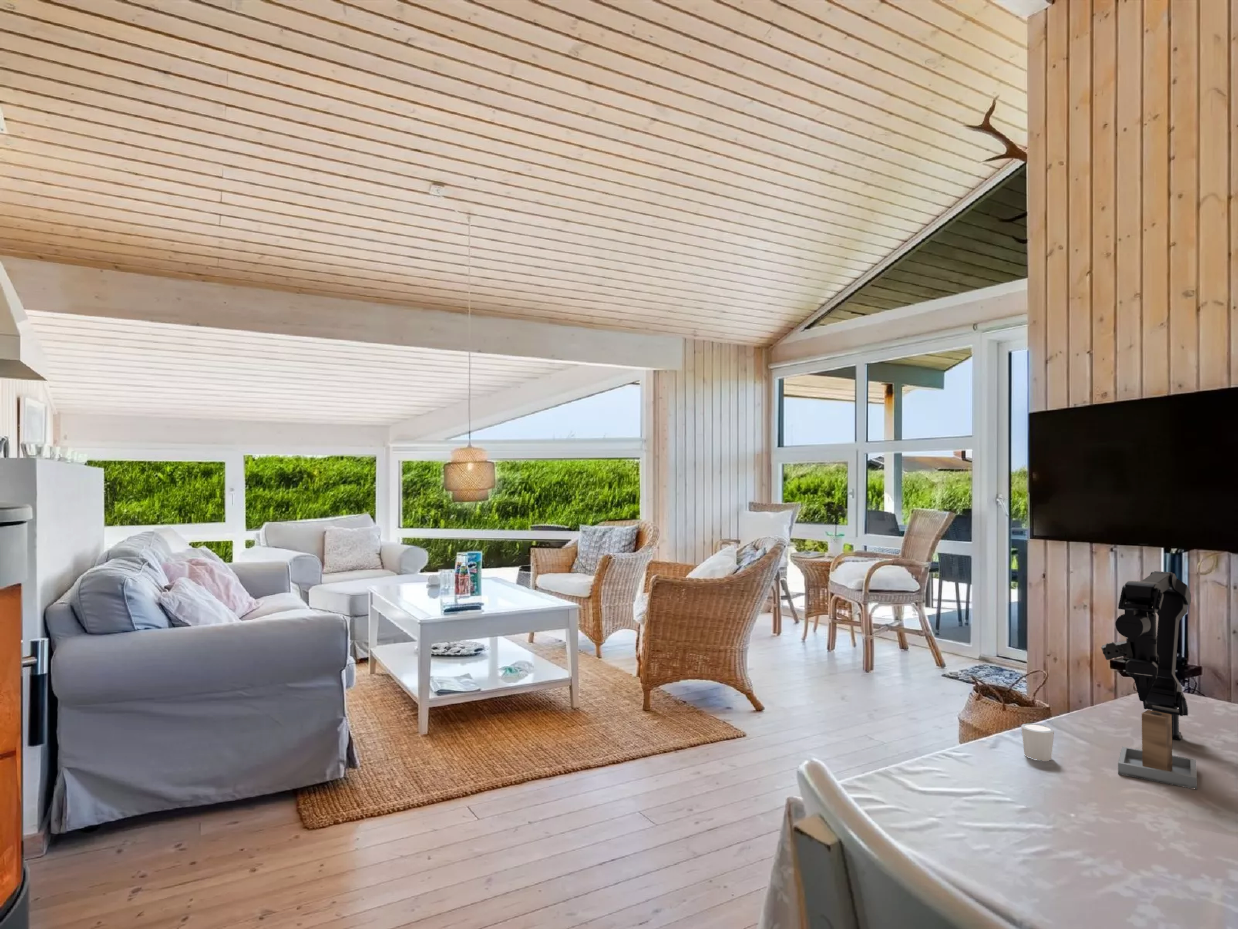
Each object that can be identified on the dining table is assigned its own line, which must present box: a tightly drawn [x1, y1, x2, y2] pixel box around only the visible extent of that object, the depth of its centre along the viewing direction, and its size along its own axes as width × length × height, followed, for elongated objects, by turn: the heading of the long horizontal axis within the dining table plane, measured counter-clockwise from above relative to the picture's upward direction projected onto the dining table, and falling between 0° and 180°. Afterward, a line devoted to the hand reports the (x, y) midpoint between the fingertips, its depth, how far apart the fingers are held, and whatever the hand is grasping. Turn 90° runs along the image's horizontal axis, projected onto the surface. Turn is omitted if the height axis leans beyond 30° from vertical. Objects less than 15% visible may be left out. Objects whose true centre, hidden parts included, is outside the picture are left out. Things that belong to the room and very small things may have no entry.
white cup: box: [1020, 723, 1055, 762], centre depth 178 cm, size 7×7×7 cm
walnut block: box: [1141, 709, 1173, 772], centre depth 169 cm, size 4×4×13 cm
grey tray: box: [1117, 745, 1198, 790], centre depth 168 cm, size 14×14×2 cm
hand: (1143, 697), depth 183 cm, fingers open, 9 cm apart
